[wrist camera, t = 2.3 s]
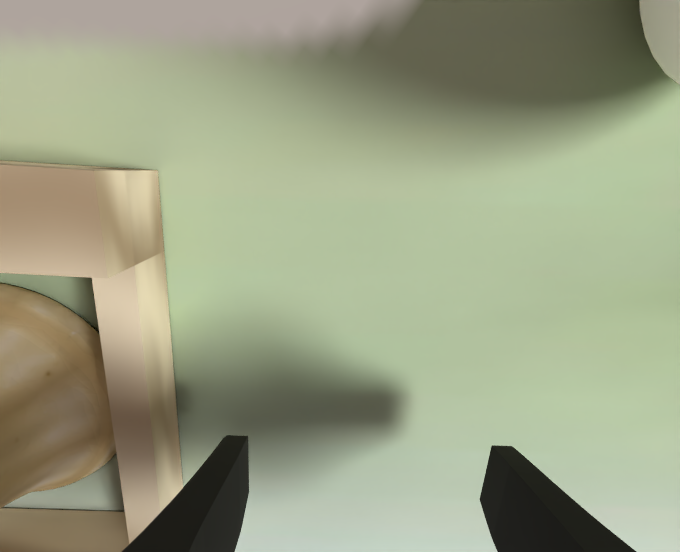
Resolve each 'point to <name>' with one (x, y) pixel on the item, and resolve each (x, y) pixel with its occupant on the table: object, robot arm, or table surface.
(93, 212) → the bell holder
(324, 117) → the table surface
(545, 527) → the robot arm
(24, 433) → the hand bell
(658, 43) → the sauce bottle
